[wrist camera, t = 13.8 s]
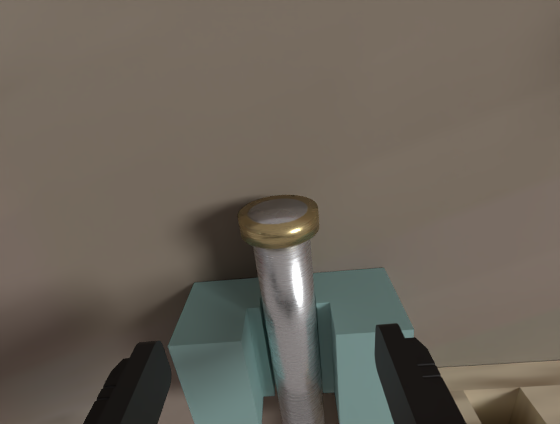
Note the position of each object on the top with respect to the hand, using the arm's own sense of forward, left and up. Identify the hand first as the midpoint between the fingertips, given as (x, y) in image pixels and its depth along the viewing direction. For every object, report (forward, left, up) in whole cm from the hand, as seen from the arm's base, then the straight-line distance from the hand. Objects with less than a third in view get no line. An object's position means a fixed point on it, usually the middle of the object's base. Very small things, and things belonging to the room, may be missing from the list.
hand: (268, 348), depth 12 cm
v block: (+7, 0, -9) cm, 12 cm away
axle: (+6, 0, -7) cm, 9 cm away
